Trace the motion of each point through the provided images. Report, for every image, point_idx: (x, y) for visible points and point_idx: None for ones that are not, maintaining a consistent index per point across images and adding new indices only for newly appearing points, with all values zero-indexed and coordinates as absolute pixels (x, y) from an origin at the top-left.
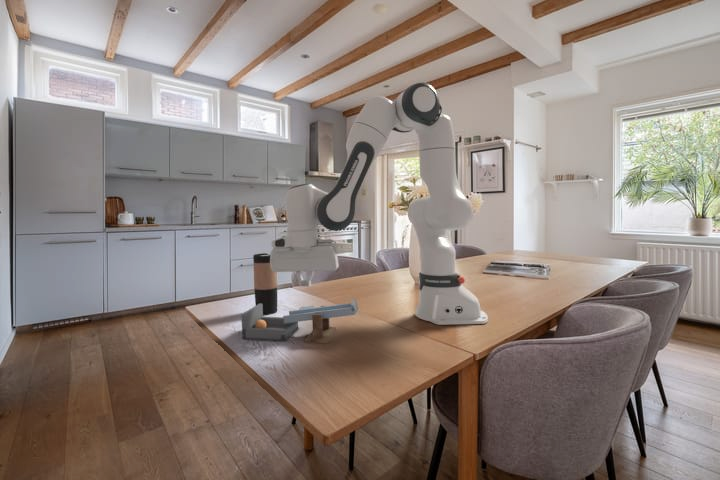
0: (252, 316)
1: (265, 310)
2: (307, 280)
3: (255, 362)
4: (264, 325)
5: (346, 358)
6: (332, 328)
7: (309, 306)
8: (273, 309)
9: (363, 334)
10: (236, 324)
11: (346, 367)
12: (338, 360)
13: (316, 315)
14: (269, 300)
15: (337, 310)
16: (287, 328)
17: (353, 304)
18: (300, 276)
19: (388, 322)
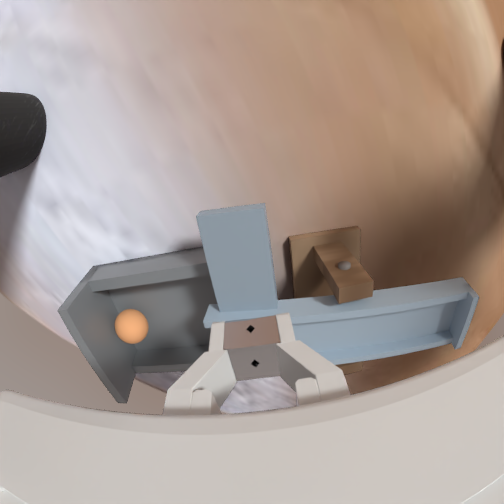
0: (111, 358)
1: (24, 163)
2: (285, 377)
3: (243, 411)
4: (147, 332)
5: (394, 357)
6: (352, 246)
7: (245, 218)
8: (37, 136)
9: (429, 241)
10: (35, 270)
11: (393, 377)
12: (382, 367)
13: (347, 373)
14: (7, 158)
15: (412, 349)
16: (197, 280)
17: (461, 343)
18: (212, 392)
19: (473, 131)
